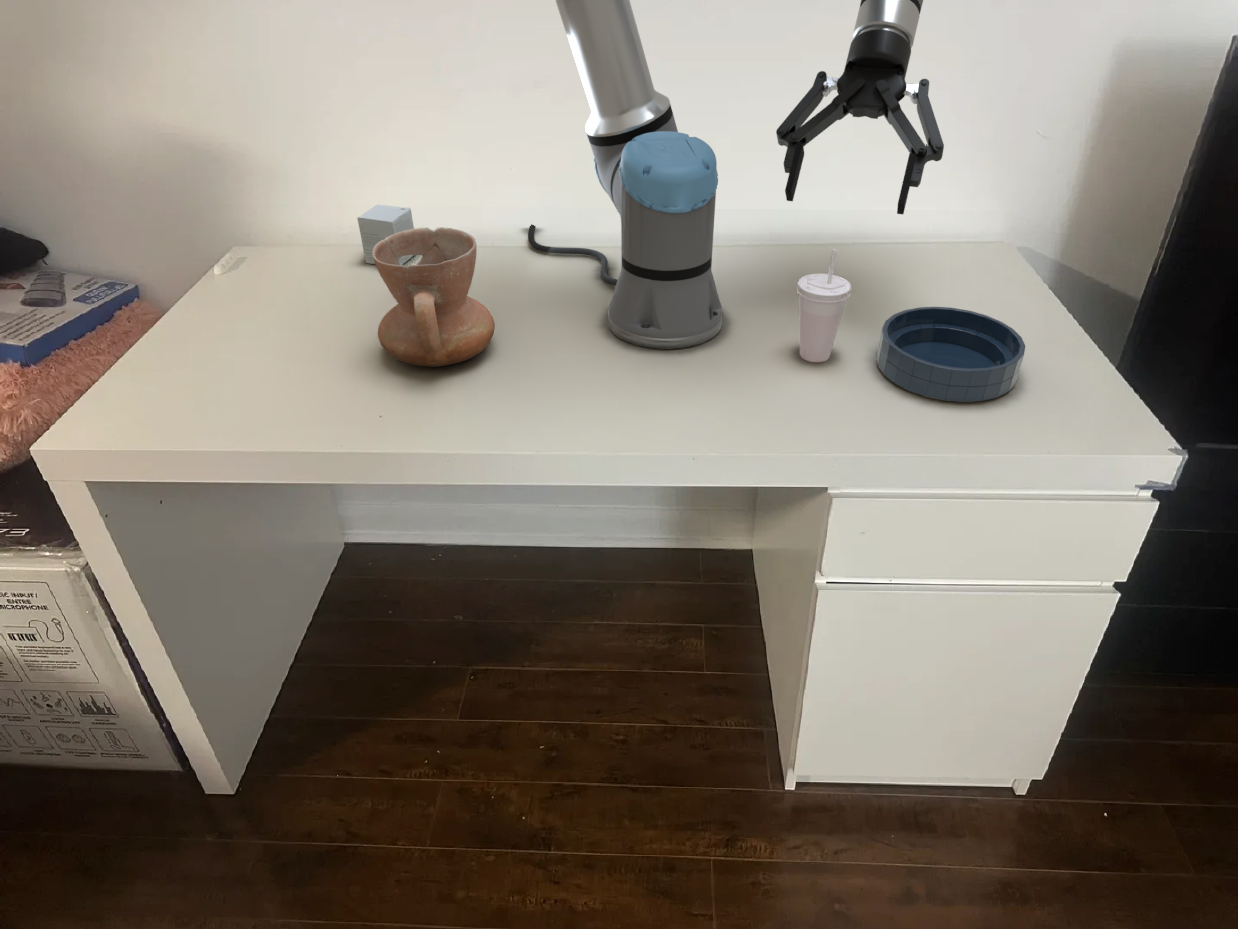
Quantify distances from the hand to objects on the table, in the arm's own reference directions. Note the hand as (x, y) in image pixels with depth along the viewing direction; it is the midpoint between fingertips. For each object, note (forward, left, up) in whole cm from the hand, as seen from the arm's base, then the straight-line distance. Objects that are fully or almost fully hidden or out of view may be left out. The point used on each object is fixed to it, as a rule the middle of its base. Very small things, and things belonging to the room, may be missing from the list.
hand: (843, 202), depth 107 cm
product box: (-44, -51, -17) cm, 69 cm away
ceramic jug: (-11, -50, -17) cm, 54 cm away
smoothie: (+7, -6, -17) cm, 19 cm away
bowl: (+16, +7, -17) cm, 24 cm away
